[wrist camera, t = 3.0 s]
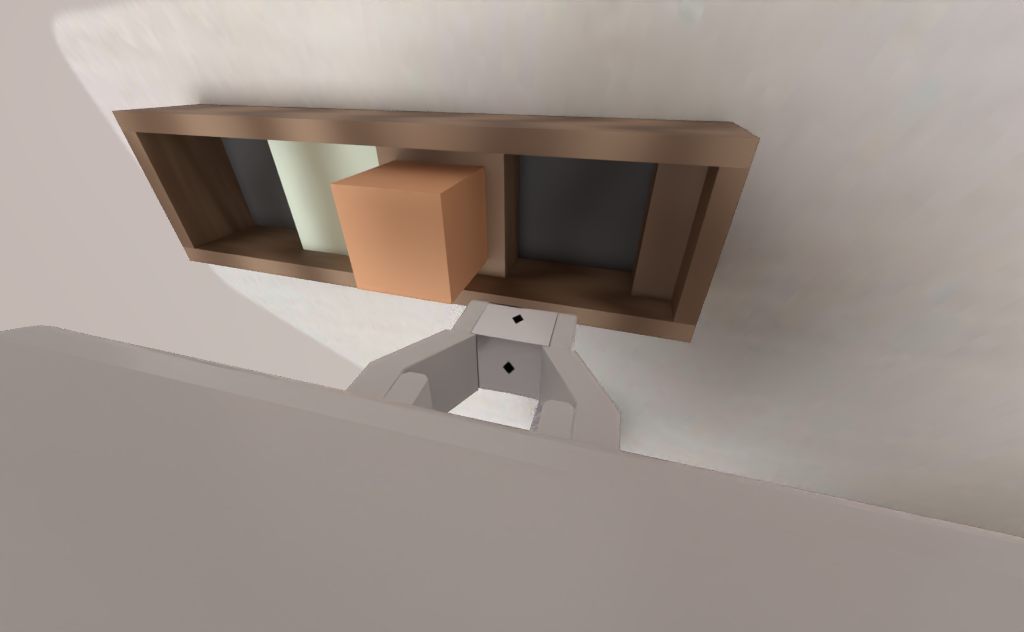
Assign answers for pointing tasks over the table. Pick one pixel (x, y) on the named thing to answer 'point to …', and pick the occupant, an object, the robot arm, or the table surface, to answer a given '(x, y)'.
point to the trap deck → (509, 199)
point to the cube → (414, 227)
